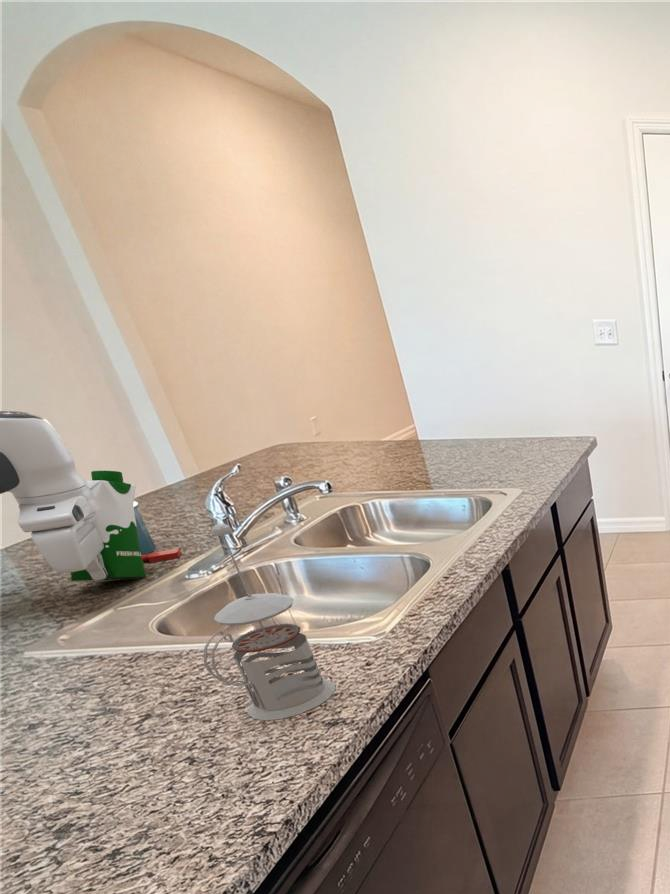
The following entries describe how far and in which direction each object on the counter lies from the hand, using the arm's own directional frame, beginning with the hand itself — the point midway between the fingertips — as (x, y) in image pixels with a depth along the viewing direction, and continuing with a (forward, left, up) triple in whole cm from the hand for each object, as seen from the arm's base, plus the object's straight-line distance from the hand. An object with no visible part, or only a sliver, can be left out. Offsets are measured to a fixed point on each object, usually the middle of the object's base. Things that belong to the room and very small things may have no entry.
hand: (101, 578), depth 119 cm
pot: (-3, +26, -3) cm, 26 cm away
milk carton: (0, +5, -2) cm, 5 cm away
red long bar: (+1, +17, -3) cm, 18 cm away
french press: (+27, -63, -3) cm, 69 cm away
